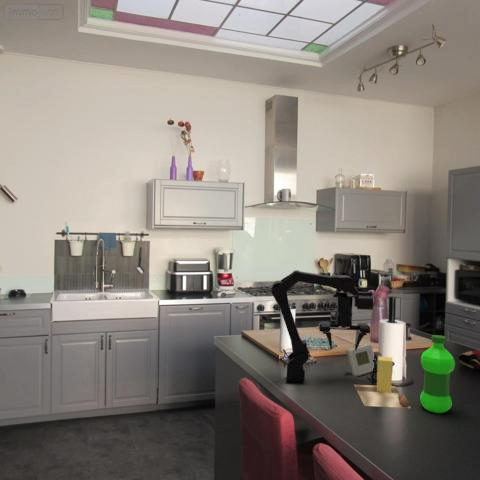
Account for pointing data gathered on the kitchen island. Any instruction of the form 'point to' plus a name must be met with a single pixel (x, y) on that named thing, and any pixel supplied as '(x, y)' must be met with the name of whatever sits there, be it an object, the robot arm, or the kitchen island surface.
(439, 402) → the plastic bottle
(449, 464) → the kitchen island surface
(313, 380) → the kitchen island surface
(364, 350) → the digital clock
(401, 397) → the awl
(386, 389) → the tall mustard yellow pillar
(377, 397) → the panel
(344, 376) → the kitchen island surface
